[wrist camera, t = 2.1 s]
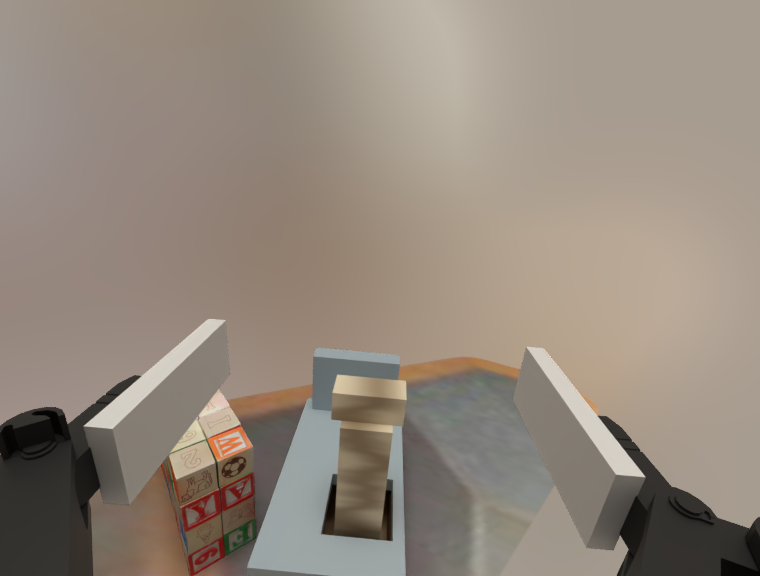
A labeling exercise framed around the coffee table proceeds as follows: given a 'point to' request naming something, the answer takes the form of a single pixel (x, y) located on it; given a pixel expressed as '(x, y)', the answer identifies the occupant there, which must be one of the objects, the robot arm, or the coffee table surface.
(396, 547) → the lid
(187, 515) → the stack of blocks
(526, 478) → the coffee table surface
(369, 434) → the key
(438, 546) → the coffee table surface
